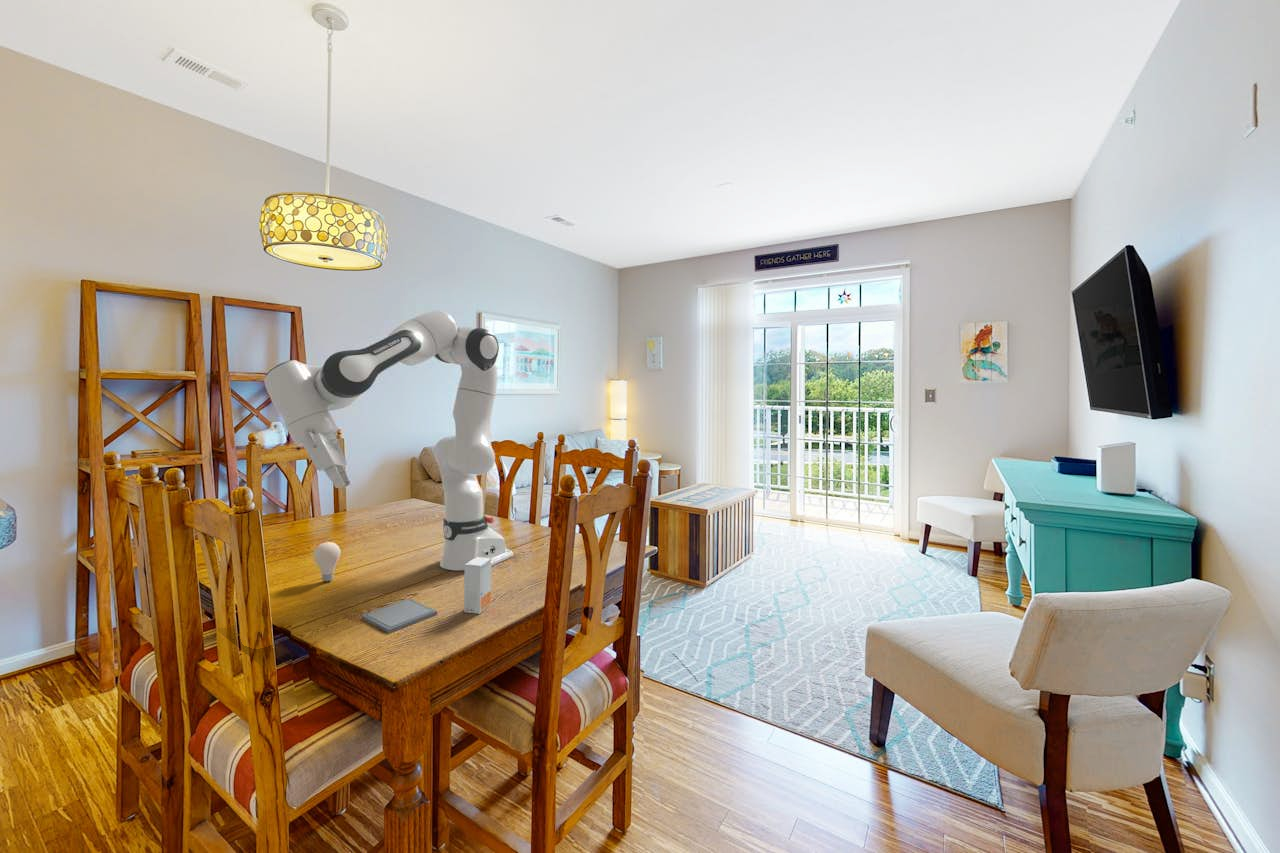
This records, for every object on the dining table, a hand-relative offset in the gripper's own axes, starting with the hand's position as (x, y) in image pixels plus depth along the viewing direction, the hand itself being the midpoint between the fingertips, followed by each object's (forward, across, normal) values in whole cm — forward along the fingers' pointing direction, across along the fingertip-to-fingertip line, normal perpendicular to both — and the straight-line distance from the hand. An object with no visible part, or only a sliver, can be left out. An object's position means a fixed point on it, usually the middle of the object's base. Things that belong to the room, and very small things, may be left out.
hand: (344, 486), depth 118 cm
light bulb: (+20, +35, +19) cm, 44 cm away
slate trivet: (+33, +5, +3) cm, 33 cm away
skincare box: (+41, +3, -13) cm, 43 cm away
